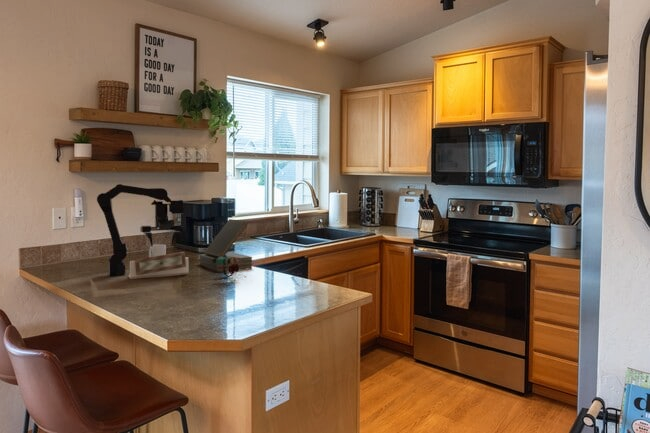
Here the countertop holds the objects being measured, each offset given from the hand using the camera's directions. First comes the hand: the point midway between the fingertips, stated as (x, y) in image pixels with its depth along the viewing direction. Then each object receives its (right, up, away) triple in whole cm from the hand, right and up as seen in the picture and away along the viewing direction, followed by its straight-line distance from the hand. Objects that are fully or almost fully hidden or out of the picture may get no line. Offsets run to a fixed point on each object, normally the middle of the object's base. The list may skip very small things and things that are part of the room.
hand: (161, 246), depth 231 cm
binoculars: (+33, -14, -7) cm, 36 cm away
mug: (-8, -12, +16) cm, 22 cm away
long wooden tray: (+1, -13, -7) cm, 15 cm away
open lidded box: (+27, -13, +21) cm, 36 cm away
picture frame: (+4, -7, -11) cm, 14 cm away
